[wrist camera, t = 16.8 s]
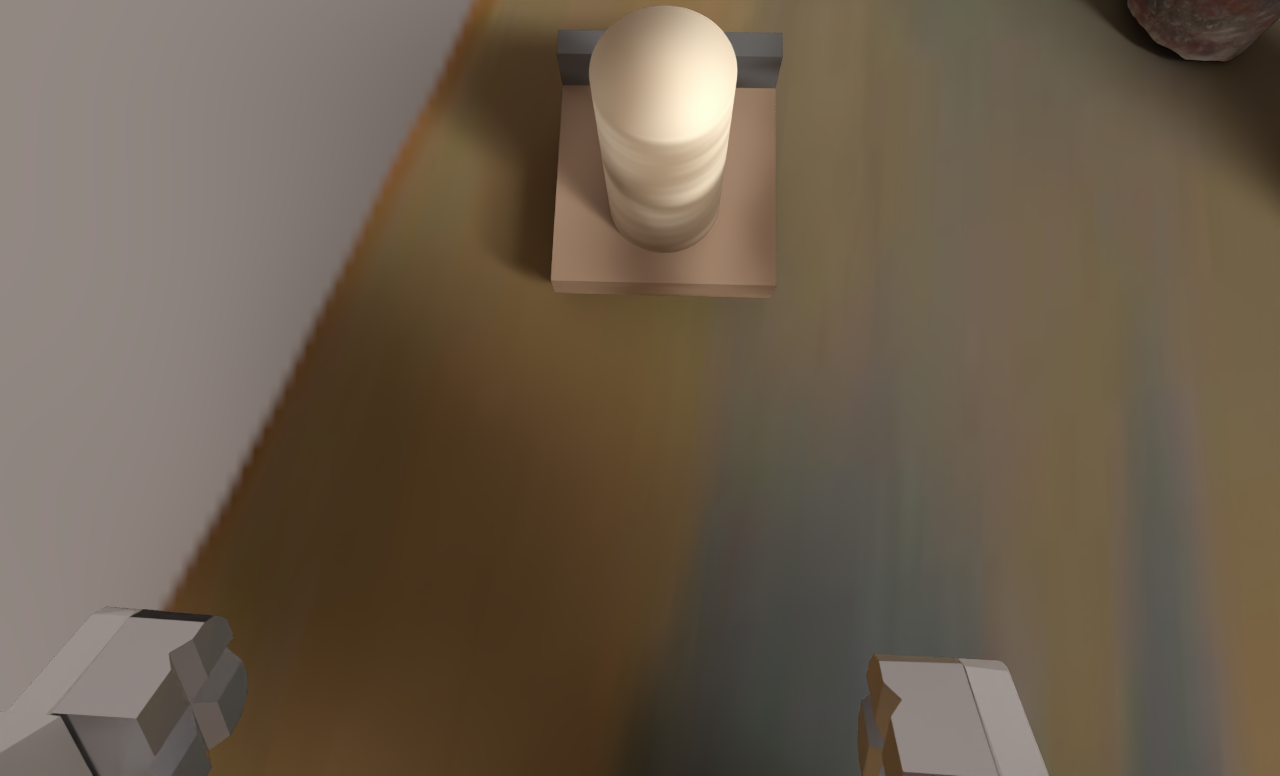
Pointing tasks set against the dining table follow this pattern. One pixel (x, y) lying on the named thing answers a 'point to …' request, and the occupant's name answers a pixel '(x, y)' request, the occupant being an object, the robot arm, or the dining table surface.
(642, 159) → the birch roller
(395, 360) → the dining table surface
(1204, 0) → the candle
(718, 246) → the brown grey block
